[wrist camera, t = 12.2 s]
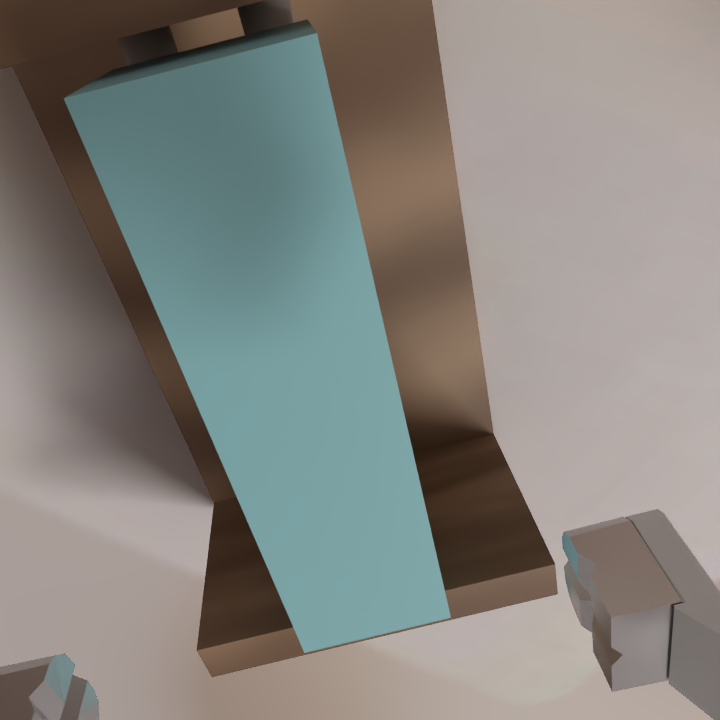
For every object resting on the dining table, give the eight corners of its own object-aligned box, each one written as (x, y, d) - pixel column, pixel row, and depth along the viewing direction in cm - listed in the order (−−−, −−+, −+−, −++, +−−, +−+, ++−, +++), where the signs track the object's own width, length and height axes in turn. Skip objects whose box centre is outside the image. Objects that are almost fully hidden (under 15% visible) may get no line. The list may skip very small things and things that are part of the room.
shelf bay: (-5, -2, 18) (-170, 12, 12) (409, -110, 18) (489, -160, 11) (227, 511, 29) (212, 677, 22) (490, 446, 29) (557, 594, 22)
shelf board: (113, 69, 15) (63, 98, 11) (307, 19, 15) (316, 32, 11) (300, 551, 23) (304, 653, 20) (424, 521, 23) (451, 617, 19)
